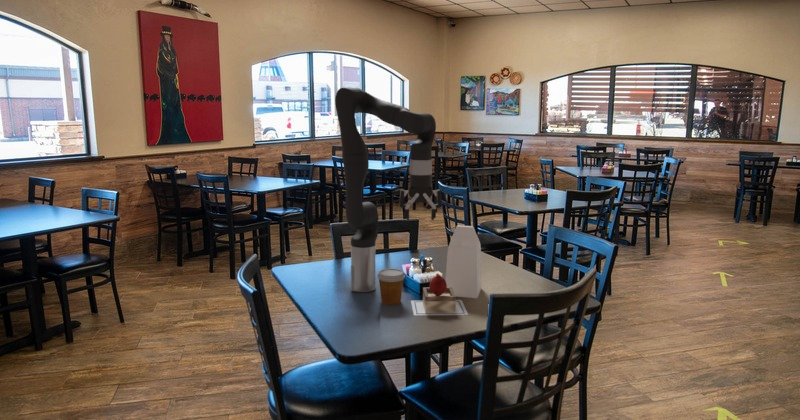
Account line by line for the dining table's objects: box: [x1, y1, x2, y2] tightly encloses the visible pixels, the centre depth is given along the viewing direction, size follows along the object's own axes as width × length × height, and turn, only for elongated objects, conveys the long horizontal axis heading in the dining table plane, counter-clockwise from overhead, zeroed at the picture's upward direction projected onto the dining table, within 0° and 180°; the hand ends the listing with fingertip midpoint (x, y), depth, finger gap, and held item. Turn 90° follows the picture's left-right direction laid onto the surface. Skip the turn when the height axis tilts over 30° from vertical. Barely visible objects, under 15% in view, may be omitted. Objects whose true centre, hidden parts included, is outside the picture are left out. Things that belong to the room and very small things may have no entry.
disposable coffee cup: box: [377, 268, 406, 306], centre depth 192 cm, size 10×10×12 cm
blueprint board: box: [410, 299, 469, 316], centre depth 188 cm, size 18×14×1 cm
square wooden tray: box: [422, 286, 457, 313], centre depth 187 cm, size 10×10×6 cm
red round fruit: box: [429, 273, 447, 296], centre depth 187 cm, size 6×6×8 cm
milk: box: [445, 224, 482, 299], centre depth 202 cm, size 12×12×26 cm
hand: (420, 219), depth 190 cm, fingers open, 8 cm apart
